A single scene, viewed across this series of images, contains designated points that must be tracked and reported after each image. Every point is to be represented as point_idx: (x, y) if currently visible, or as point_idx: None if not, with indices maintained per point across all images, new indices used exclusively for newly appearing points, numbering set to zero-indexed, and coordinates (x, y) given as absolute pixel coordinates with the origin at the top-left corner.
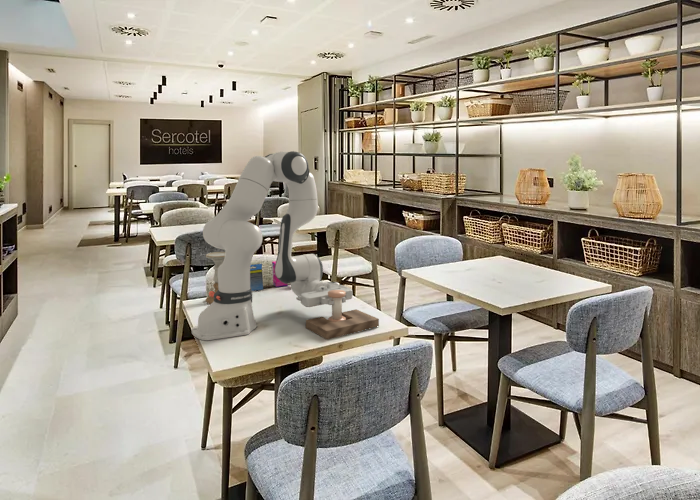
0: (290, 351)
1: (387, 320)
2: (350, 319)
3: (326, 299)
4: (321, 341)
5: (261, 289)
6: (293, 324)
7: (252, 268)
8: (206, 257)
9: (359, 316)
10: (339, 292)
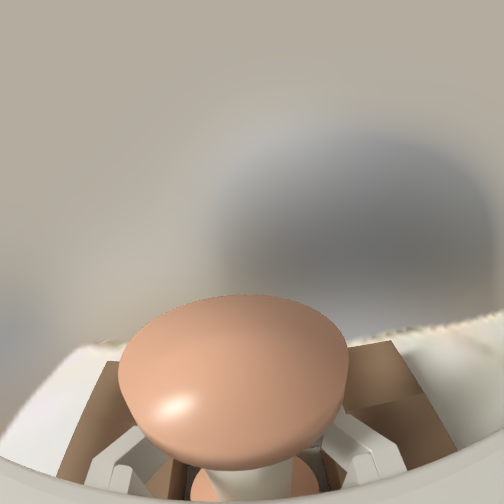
0: (492, 324)
1: (38, 409)
2: None
3: (358, 421)
4: (406, 361)
5: None
6: None
7: None
8: None
9: (134, 425)
10: (211, 333)
